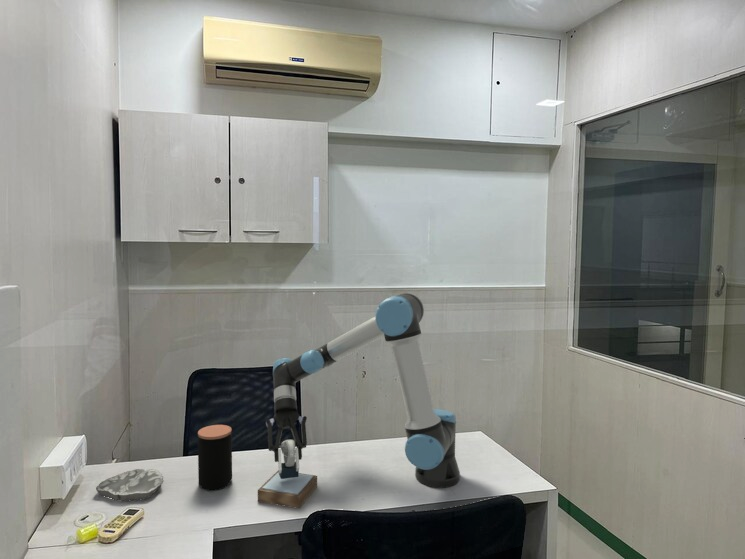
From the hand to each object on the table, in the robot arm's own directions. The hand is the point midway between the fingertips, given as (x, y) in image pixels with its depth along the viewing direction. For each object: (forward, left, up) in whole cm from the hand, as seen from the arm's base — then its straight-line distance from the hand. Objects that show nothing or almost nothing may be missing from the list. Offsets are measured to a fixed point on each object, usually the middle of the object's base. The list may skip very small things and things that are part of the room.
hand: (289, 470), depth 149 cm
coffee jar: (+28, -2, -10) cm, 29 cm away
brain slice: (+51, +9, -10) cm, 52 cm away
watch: (+2, -3, -3) cm, 5 cm away
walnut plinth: (+2, -3, -9) cm, 10 cm away
